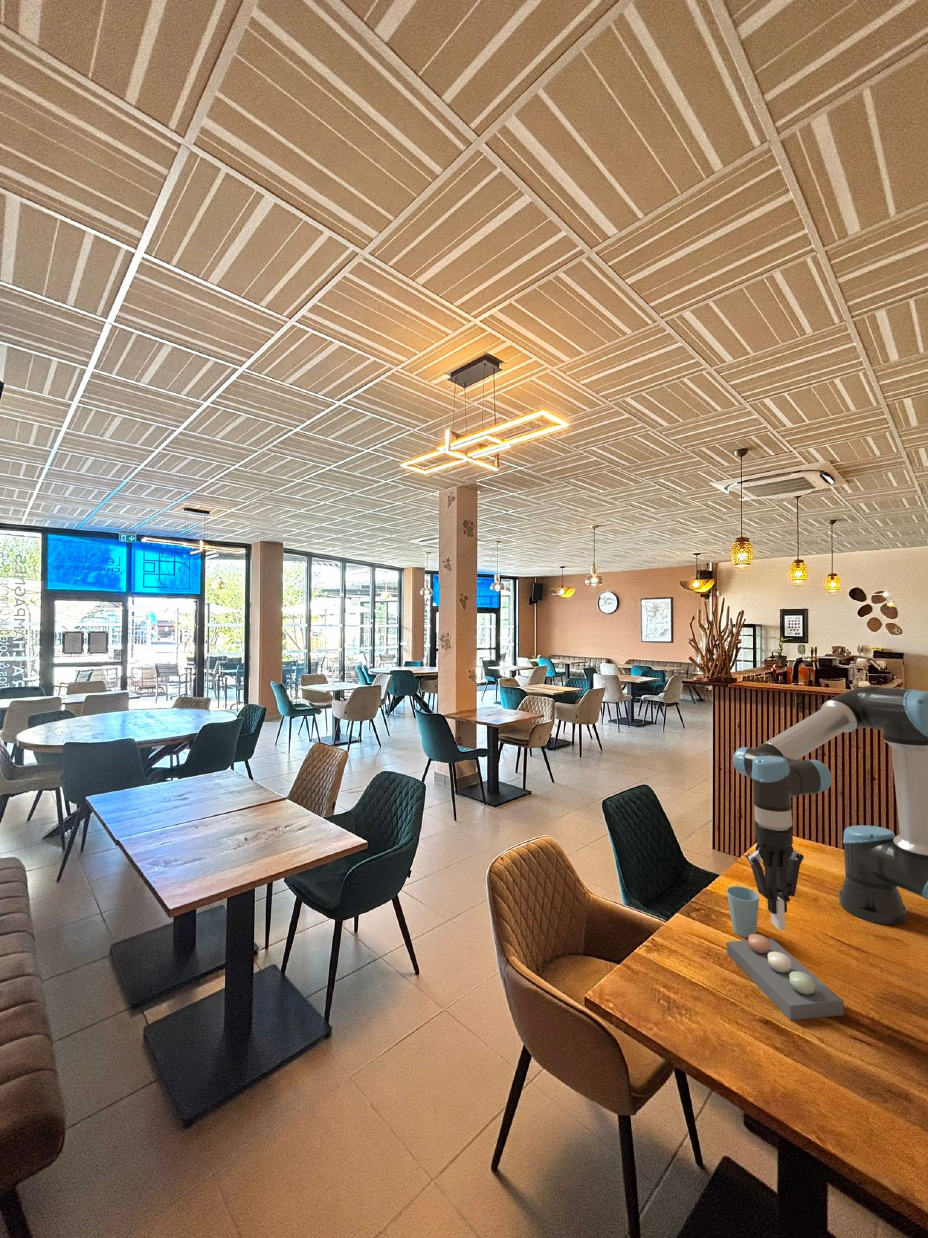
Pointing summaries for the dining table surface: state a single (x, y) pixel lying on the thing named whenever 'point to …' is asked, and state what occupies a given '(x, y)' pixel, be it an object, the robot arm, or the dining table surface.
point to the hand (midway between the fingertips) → (778, 926)
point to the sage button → (802, 983)
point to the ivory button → (779, 962)
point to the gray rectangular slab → (785, 983)
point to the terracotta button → (759, 943)
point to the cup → (743, 910)
